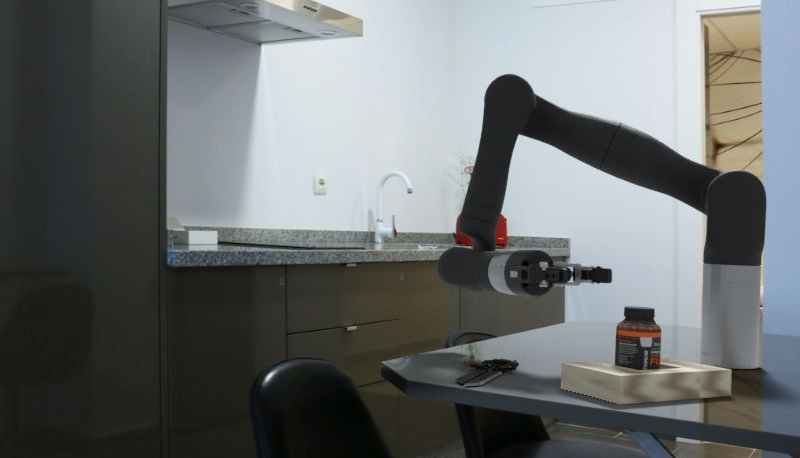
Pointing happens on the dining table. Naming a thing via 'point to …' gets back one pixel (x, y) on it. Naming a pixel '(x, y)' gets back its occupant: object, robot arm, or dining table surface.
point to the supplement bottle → (638, 339)
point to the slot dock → (646, 381)
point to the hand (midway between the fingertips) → (588, 276)
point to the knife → (481, 371)
